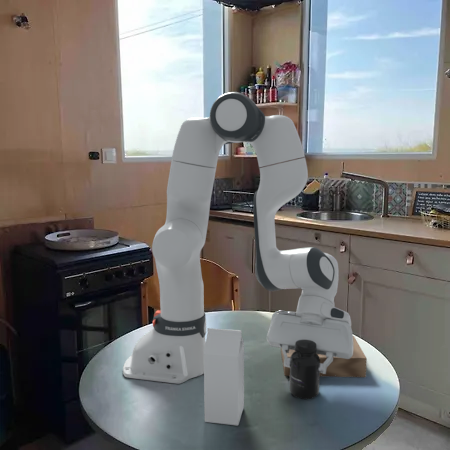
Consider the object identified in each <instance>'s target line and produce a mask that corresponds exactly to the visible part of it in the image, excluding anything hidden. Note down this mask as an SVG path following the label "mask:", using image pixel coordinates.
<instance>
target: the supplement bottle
mask: <svg viewBox="0 0 450 450" xmlns="http://www.w3.org/2000/svg"><path fill="white" fill-rule="evenodd" d="M316 348H317V345H316V343H315V342H313V341H311V340H298V341H296V343H295V352H294V353H293V354H292V355H291V358H290V376H289V392H290V394H291V395H293V396H294V397H296V398H298V399H302V400H303V399H304V400H310V399H311V400H312V399H315V398H316V397H317V396H318V395H319V393H320V380H321V376H320V373H319V366H320V357H319V356H318V355H317V354H316V352H317V349H316Z"/></svg>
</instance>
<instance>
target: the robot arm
mask: <svg viewBox="0 0 450 450" xmlns="http://www.w3.org/2000/svg"><path fill="white" fill-rule="evenodd" d="M297 130H298V129H297V128H296V126H295V123H294V121H293V120H292V119H291V118H290V117H289V116H287V115H282V114H275V115H274V114H273V115H268V116H266V115H265V113H264V112H263V111H262V110H261V108H259V106H258V105H257V104H256V103H255V101H253V99H251V98H250V97H249V96H247V95H246V94H243V93H241V92H237V91H231V92H230V91H229V92H227V93H224V94H221V95H220V96H219V97H217V98H216V100H215V101H213V104H212V105H211V108H210V112H209V116H208V117H200V116H199V117H198V116H196V117H194V116H193V117H190V118H187V119H185V120H184V121H183V122H182V123H181V125H180V128H179V130H178V134H177V136H176V139H175V142H174V147H173V151H172V156H171V163H170V167H169V173H168V174H169V175H168V180H167V188H166V216H165V217H166V218H165V223H164V225H162V226H160V228H159V229H158V230H157V231H156V233H155V235H154V238H153V241H152V244H151V245H152V246H151V251H152V256H153V257H154V261H155V267H156V273H157V277H158V282H159V298H160V299H159V300H160V301H159V303H160V306H159V307H160V310H159V309H158V310H156V311H155V313H154V314H153V318H152V327H153V328H152V329H150V330H149V331H148V332H146V333H145V334H143V335H142V336H141V337H140V338H139V339H138V340H137V341H136V343H135V344H134V347H133V349H132V352H131V355H130V356H129V357H128V358H127V359H126V360H125V362H124V364H123V367H122V374H123V376H124V377H125V378H129V379H137V380H145V381H154V382H161V383H162V382H163V383H170V384H175V385H176V384H183V383H185V382H187V381H188V380H190V379H192V378H193V379H194V378H196V377H200V376H202V375H204V349H205V344H206V336H207V335H206V334H207V318H206V316H207V315H206V312H205V311H204V310H205V309H204V308H205V307H204V306H205V304H204V298H205V297H204V281H203V276H202V267H201V251H202V250H203V247H204V246H205V244H206V238H207V232H208V224H209V217H210V208H211V199H212V195H213V187H214V185H215V184H214V182H215V176H216V171H217V167H218V166H217V164H218V160H219V155H220V152H221V149H222V147H223V146H224V145H229V144H239V143H249V144H250V145H251V146H252V148H253V149H254V152H255V154H256V159H257V163H258V169H259V174H260V175H259V177H260V178H259V180H260V181H259V185H258V189H257V190H256V191H255V192H254V196H253V202H252V207H253V208H252V212H253V214H252V215H253V226H254V227H253V229H254V244H255V264H254V270H255V271H254V272H255V279H256V280H257V281H258V283H259V284H260V285H261V286H262V287H263V288H264V289H265V290H267V291H269V292H277V291H281V290H282V291H283V290H287V289H288V290H290V289H301V294H300V296H299V298H298V302H297V307H296V311H288V310H287V311H285V310H284V309H283V310H281V309H280V310H278V311H275V312H273V314H272V315H271V318H270V325H269V329H268V331H267V334H266V341H267V342H268V344H269V345H270V347H273V348H279V349H281V348H282V351H283V354H284V357H285V359H284V367H290V358H288V356H287V353H289V351H290V350H295V343H296V341H298V340H311V341H313V342H315V343H316V345H317V348H316V349H317V352H316V354H321V355H326V358H327V359H326V361H325V362H324V363H323V364H322V363H320V366H319V373H323V374H326V369H327V367H328V366H329V365H330V364H331V362H332V361H333V357H339V358H345V359H350V358H351V357H352V356H353V336H354V335H353V334H354V333H353V329H352V319H351V316H350V314H349V312H348V311H345V310H343V309H340V308H338V307H336V306H335V296H336V295H337V293H338V286H339V278H340V277H339V263H338V262H339V261H338V260H337V259H336V257H334V256H333V255H331V254H329V253H327V252H324V251H322V250H321V249H319V248H318V247H316V246H315V247H301V248H299V247H298V248H293V249H286V250H285V249H284V250H279V248H278V247H277V239H276V238H277V237H276V226H275V225H276V223H275V220H276V219H275V218H276V215H277V212H278V211H279V209H281V207H283V206H284V205H286V204H287V203H288V202H290V201H292V200H293V199H294V198H296V197H297V196H299V194H301V192H302V191H303V190H304V188H305V187H306V186H307V185H306V184H307V182H308V179H309V178H308V176H309V172H308V165H307V160H306V157H305V156H306V155H305V152H304V148H303V144H302V140H301V138H300V135H299V132H298V131H297Z"/></svg>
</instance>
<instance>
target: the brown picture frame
mask: <svg viewBox="0 0 450 450" xmlns="http://www.w3.org/2000/svg"><path fill="white" fill-rule="evenodd" d="M294 352H295V350H290V351H289V353H287V356H288V358H291V355H292V354H293V353H294ZM280 355H281V361H282V363H281V364H282V367H283V375H284V376H285V377H287V376H288V377H290V367H284V359H285V357H284V354H283V351H282V348H280ZM317 355H318V356H319V357H320V363H322V364H323V363H324V362H325V361H326V359H327V358H326V355H321V354H317ZM367 362H368V361H367V356H366V355H365V353H364V351H363V350H362V348H361V346H360V344H359V342H358V340H357V339H356V337H355V336H354V335H353V356H352V357H351V358H350V359H345V358H339V357H333V361H332V362H331V364H330V365H329V366H328V367H327V369H326V374H323V373H320V377H327V378H329V377H331V378H334V377H335V378H344V377H345V378H366V377H367Z"/></svg>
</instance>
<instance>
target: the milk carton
mask: <svg viewBox="0 0 450 450" xmlns="http://www.w3.org/2000/svg"><path fill="white" fill-rule="evenodd" d="M206 334H207V335H206V338H205V341H206V344H205V349H204V374H203V389H204V390H203V391H204V392H203V396H204V397H203V400H204V402H203V403H204V422H205V423H213V424H220V425H229V426H230V425H231V426H240V425H239V424H240V421H241V418H242V414H243V411H244V407H245V403H244V402H245V342H244V339H243V336H242V330H239V329H225V328H222V329H221V328H212V327H211V328H210V327H208V328H206Z"/></svg>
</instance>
